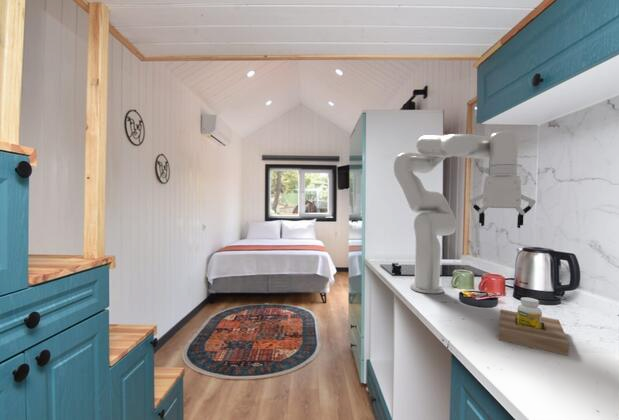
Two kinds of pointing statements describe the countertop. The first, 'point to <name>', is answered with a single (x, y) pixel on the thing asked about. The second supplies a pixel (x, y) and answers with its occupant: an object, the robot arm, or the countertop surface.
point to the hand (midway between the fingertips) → (500, 226)
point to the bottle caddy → (533, 333)
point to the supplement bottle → (529, 313)
